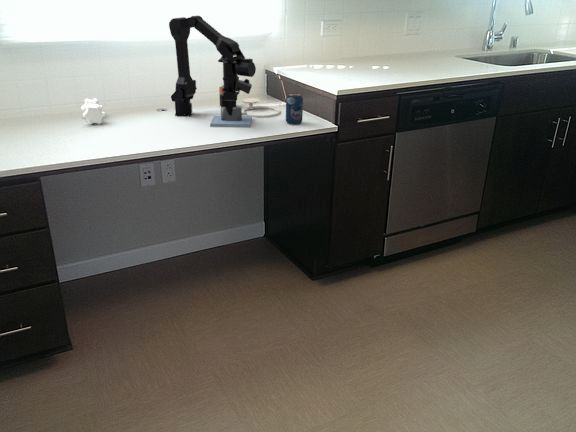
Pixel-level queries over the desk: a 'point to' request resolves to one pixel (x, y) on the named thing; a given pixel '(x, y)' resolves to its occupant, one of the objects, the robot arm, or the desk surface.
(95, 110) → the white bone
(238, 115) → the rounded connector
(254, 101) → the hand towel holder
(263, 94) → the desk surface
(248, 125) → the pad
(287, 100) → the soda can
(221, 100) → the battery
